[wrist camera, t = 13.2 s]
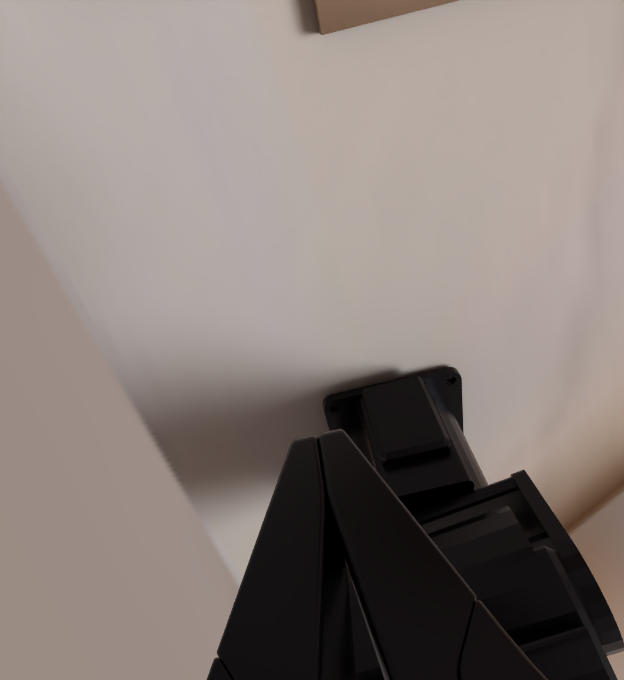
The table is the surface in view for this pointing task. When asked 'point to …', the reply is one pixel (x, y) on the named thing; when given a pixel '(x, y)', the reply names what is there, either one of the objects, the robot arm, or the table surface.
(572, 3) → the table surface
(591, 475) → the table surface
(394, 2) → the taupe inverted t block
